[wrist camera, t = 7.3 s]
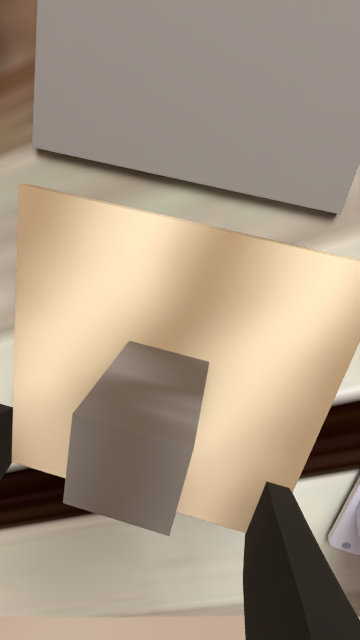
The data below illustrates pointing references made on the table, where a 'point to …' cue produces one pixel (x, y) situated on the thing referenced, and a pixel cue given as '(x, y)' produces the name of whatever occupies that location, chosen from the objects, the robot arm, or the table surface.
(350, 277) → the lid
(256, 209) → the table surface
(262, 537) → the robot arm
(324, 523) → the table surface
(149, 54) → the mat
